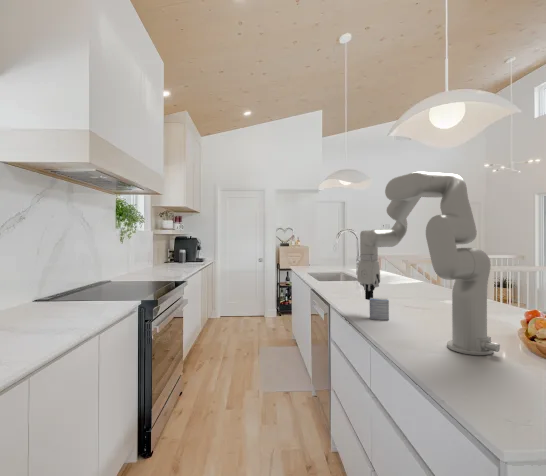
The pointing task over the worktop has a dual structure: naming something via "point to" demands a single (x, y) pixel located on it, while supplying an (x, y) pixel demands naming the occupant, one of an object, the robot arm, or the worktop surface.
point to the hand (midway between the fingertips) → (369, 299)
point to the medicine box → (379, 308)
